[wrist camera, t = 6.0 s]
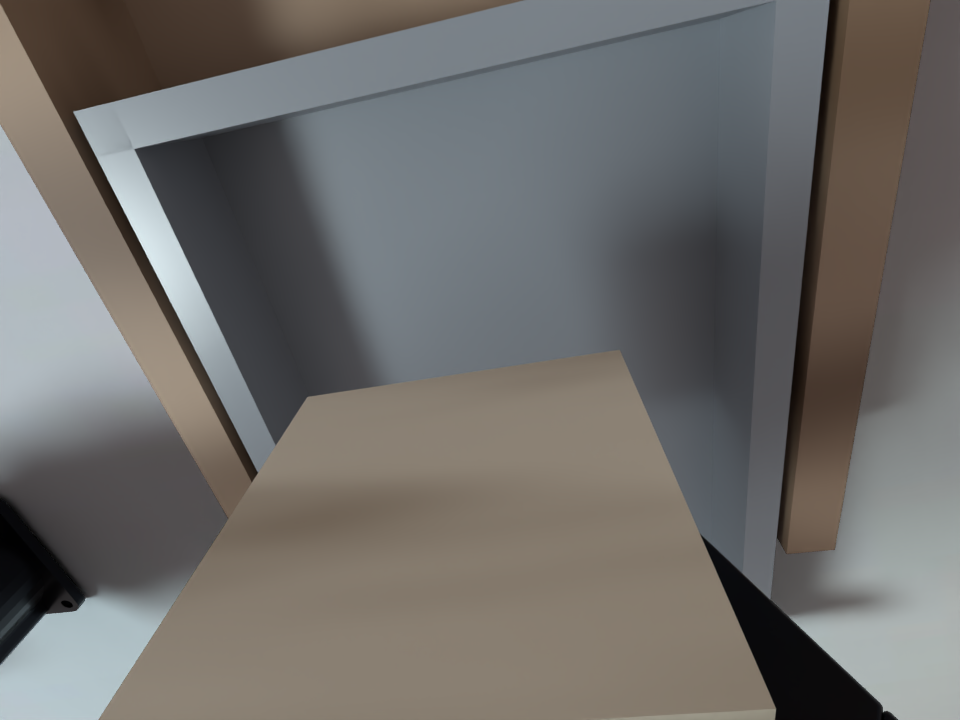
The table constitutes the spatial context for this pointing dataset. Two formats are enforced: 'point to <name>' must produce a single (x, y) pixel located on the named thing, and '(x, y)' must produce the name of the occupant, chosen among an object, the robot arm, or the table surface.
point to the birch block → (457, 568)
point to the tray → (503, 220)
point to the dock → (403, 5)
